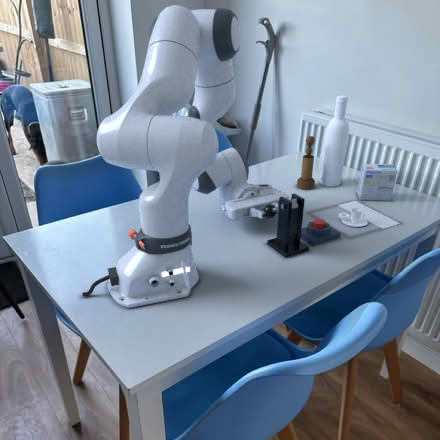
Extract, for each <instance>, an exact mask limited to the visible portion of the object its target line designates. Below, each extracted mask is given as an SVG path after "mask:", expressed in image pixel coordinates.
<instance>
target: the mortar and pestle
mask: <svg viewBox="0 0 440 440" xmlns="http://www.w3.org/2000/svg"><path fill="white" fill-rule="evenodd" d="M315 142H316V138H315V137H314V136H313V135H309V136H307V137H306V139H305V143H306V146H307V148H306V149H305V153H306V154H304V155H302V160H301V161H302V164H301V171H300V172H301V173H300V177H299V178H297V180H296V187H297V188H298V189H301V190H305V191H308V190H309V191H310V190H312V189H315V186H316V180H315V178H313V170H314V164H315V163H314V162H315V161H314V160H315V155H313V154H312V153H313V145H314V144H315Z"/></svg>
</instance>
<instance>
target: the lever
mask: <svg viewBox="0 0 440 440" xmlns="http://www.w3.org/2000/svg"><path fill="white" fill-rule="evenodd" d="M289 200H290V201H291V202H292V209H294V208H297V207H299V206H298V202H297V198H295V199H289ZM278 210H279V207H275V206H274V205H272V204H268V205H266V206H265V207H264V209H263V211H264V212H265V213H266V215H265V216H266V217H265V218H267V219H273V218H275V217H276V216H277V215H276V214H277V211H278Z"/></svg>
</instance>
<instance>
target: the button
mask: <svg viewBox="0 0 440 440" xmlns="http://www.w3.org/2000/svg"><path fill="white" fill-rule="evenodd" d="M312 221H313V227H314V228H316V229H323V228H325V225H326V223H327V221H326V220H325V219H323V218H314V219H313V220H312Z"/></svg>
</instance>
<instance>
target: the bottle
mask: <svg viewBox="0 0 440 440" xmlns="http://www.w3.org/2000/svg"><path fill="white" fill-rule="evenodd" d="M348 98H349V97H348V96H347V95H343V94H341V95H340V94H339V95H337V96H336V99H335V107H334V114H333V118H332V119H331V120H329V122H328V124H327V126H326V128H325V136H324V145H323V152H322V159H321V166H320V167H321V169H320V174H319V184H320V185H322V186H325V187H330V188H331V187H332V188H334V187H339V186H340V185H341V184H342V179H343V172H344V166H345V159H346V153H347V148H348V147H347V146H348V140H349V134H350V133H349V132H350V125H349V122H348V121H347V120H346V111H347V105H348Z"/></svg>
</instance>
